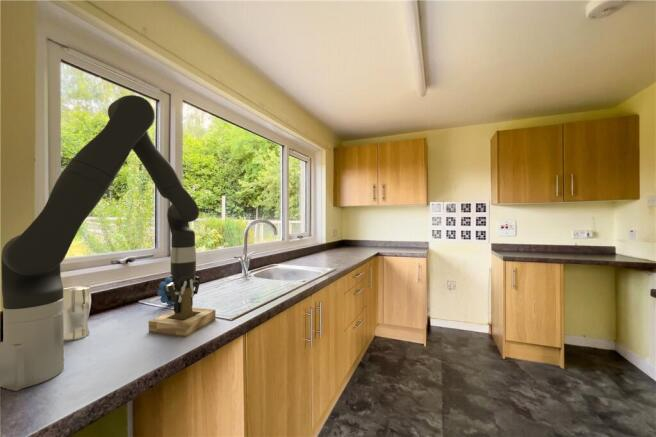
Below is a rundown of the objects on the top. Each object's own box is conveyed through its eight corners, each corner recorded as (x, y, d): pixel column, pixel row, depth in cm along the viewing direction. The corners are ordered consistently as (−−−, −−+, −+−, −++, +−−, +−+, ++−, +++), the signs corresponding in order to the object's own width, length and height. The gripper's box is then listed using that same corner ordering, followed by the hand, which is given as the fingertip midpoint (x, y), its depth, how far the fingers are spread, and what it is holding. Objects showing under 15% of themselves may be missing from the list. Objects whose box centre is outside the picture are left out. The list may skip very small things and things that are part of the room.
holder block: (184, 337, 80) (184, 325, 80) (148, 332, 83) (148, 321, 83) (215, 319, 93) (215, 309, 93) (183, 316, 97) (183, 306, 97)
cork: (184, 324, 85) (184, 290, 85) (168, 322, 86) (168, 289, 86) (197, 317, 91) (197, 285, 90) (182, 315, 92) (182, 284, 92)
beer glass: (61, 336, 81) (61, 287, 81) (91, 329, 85) (91, 284, 85) (58, 344, 75) (57, 292, 75) (90, 337, 80) (90, 288, 80)
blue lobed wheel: (166, 310, 102) (166, 280, 102) (153, 309, 104) (153, 279, 104) (190, 301, 114) (189, 274, 114) (177, 300, 116) (177, 273, 115)
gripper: (175, 264, 80) (175, 319, 80) (207, 257, 94) (207, 304, 94) (155, 263, 82) (155, 317, 82) (190, 256, 96) (190, 303, 96)
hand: (183, 310), depth 88 cm, fingers open, 4 cm apart
